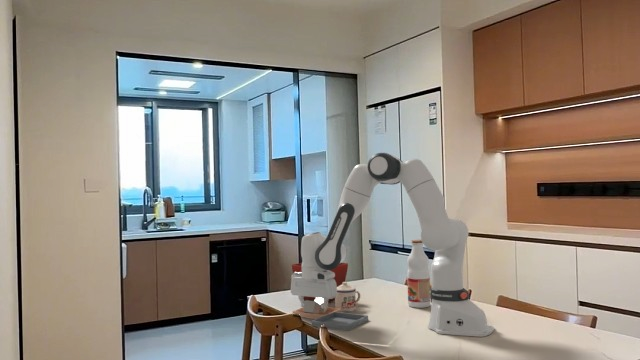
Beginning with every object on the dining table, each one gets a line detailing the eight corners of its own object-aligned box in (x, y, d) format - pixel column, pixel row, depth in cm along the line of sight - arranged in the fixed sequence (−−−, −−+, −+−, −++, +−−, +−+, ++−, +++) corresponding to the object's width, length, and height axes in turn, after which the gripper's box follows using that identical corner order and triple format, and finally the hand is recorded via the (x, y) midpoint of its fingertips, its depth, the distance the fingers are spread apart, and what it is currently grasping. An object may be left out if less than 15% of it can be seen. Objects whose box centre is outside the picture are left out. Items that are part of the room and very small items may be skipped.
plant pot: (350, 299, 238) (349, 262, 238) (321, 307, 224) (320, 268, 224) (320, 294, 251) (319, 259, 251) (291, 301, 237) (290, 264, 238)
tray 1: (341, 314, 210) (341, 308, 210) (325, 321, 200) (325, 315, 200) (309, 310, 218) (309, 305, 218) (292, 317, 208) (292, 311, 208)
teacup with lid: (342, 313, 212) (341, 285, 212) (330, 309, 220) (329, 281, 220) (366, 309, 218) (365, 281, 218) (354, 305, 225) (353, 278, 226)
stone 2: (324, 313, 209) (321, 304, 208) (314, 313, 211) (311, 303, 210) (328, 307, 213) (326, 297, 212) (318, 307, 215) (316, 297, 213)
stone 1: (317, 315, 206) (312, 312, 202) (307, 314, 208) (302, 311, 205) (320, 304, 208) (315, 301, 204) (310, 303, 210) (305, 300, 207)
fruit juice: (430, 308, 216) (428, 241, 217) (407, 308, 218) (405, 241, 219) (430, 303, 225) (428, 238, 226) (408, 303, 227) (406, 239, 228)
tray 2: (368, 321, 198) (368, 315, 198) (347, 332, 184) (347, 325, 184) (333, 317, 206) (333, 311, 206) (311, 327, 192) (311, 320, 192)
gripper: (286, 272, 210) (287, 307, 210) (330, 276, 199) (331, 312, 199) (295, 270, 215) (296, 303, 215) (338, 273, 205) (339, 308, 204)
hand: (313, 308), depth 207 cm, fingers open, 8 cm apart
